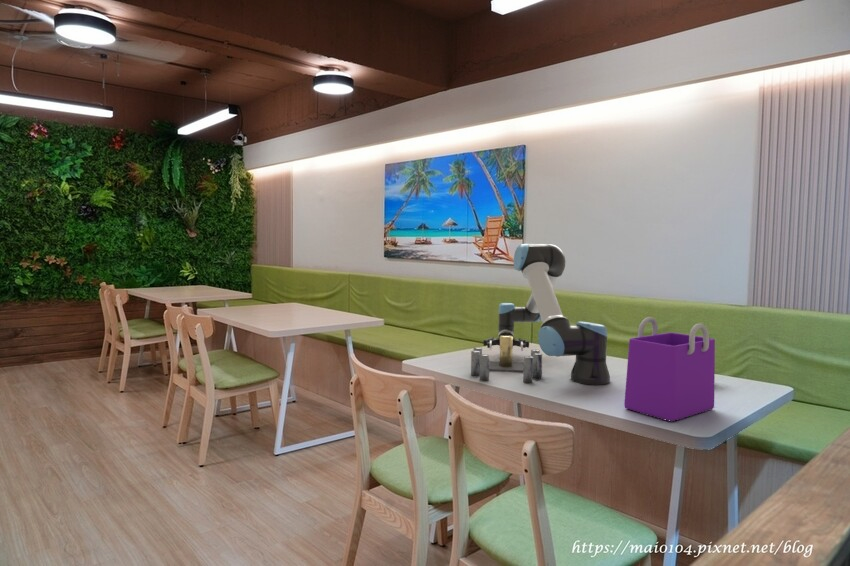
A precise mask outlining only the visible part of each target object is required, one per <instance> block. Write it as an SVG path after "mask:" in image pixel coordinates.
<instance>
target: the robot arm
mask: <svg viewBox="0 0 850 566" xmlns="http://www.w3.org/2000/svg"><path fill="white" fill-rule="evenodd" d="M513 266H514V267H513V268H514V270H515V271H518V272H520V271H521V273H522V277H523V278H525V279H527V280H528V284H529V286H530V290H531V294H530V296H529V298H528V300H527V302H526V305H525V306H515V304H514V303H511V302H501V303H499V305H498V329H497V337H496V338H495V337H494V336H491V337H489V338H486V339H483V343H482V344H483V347H486V346H487V348H488V349H489V350H492V348H493V347H494V346H498V347H500V336H502V335H509V336H513V347H520V351H521V352H523V351H524V349H525V348H530V341H529V340H528V341H527V340H525V339H522V338H521V337H518V338H517V339H516V338H515V336H514V335H515V323H536V322H542V323H541V325H540V329H538V334H537V337H538V339H537V341H538V345H539V347H540V349H541V351H542V352H543V353H544V354H545V355H546V356H549V357H569V356H575V361H574V363H573V365H572V366H573V367H572V369H571V371H570V380H571V381H573V382H576V383H579V384H583V385H593V386H598V385H599V386H600V385H607V384H610V382H611V376H610V371H609V367H608V364H607V345H608V328H607V327H606V325H604V324H599V323H594V322H587V321H577V322H576V325H571V322H570V320H569V319H568V318H567V317H566V316H564V315H563V313H562V309H561V307H560V303H559V300H558V299H557V296H556V293H555V290H554V285H555V284H556V281H558V278H559V277H561V276H562V275H563V273H564V271H565V268H566V257H565V254H564V252H563V250H562V249H561V248H560V247H559V246H557V245H555V244H551V243H521V244H519V245H517V246H516V249H515V250H514V256H513Z"/></svg>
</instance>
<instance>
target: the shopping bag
mask: <svg viewBox="0 0 850 566" xmlns="http://www.w3.org/2000/svg"><path fill="white" fill-rule="evenodd" d="M648 323H651V327H652V329H651V331H652V332H651V335H650V334H649V335H645V336H644V330H645V327H646V325H647V324H648ZM658 328H659V327H658V321H657V320H656V319H655V317H652V316H648V317H645V318H644V319H642V321H641V322H640V324H639V326H638V330H637V337H631V338H629V342H628V354H627V366H626V379H625V391H624V392H625V393H624V403H623V405H624V408H625V409H626V408H627V409H626V410H628V409H630V410H629V411H631V410H633V411H632V412H635V411H637V412H636V413H638V412H641V413H640V414H642V413H644V414H643V415H645V414H648V415H651V416H650V417H652V416H655V417H658V418H657V419H659V418H662V419H666V420H670V421H674V422H676V421H675V420H677V421H679V420H678V419H680V420H683V419H686V418H685V417H687V418H689V417H688V416H690V417H692V416H691V415H693V416H695V415H694V414H696V415H698V414H697V413H699V414H701V412H702V413H705V412H708V411H711V410H713V409H714V408H715V375H716V374H715V371H716V370H715V369H716V366H715V364H716V363H715V362H716V361H715V359H716V358H715V357H716V354H715V353H716V352H715V350H716V346H715V345H716V340H715V338H710V335H709V330H708V328H707V326H706V325H705V324H704V323H696V324H694V325H693V326H692V328H691V329H690V332H689V334H684V333H679V332H664V333H658V331H659V330H658ZM699 329H700V330H701V333H702V336H698V335H697V333H698V330H699ZM710 409H711V410H710ZM707 410H708V411H707ZM704 411H705V412H704ZM648 415H647V416H648ZM655 417H654V418H655ZM682 418H683V419H682ZM662 419H661V420H662ZM666 420H665V421H666Z"/></svg>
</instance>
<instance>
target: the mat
mask: <svg viewBox="0 0 850 566" xmlns="http://www.w3.org/2000/svg"><path fill="white" fill-rule="evenodd" d="M523 366H524V361H523V362H522V361H521V362H520V361H512V367H501V366H500V360H499V361H498V360H497V361H496V360H489V372H505V371H513V372H512V373H523Z"/></svg>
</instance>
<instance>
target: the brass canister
mask: <svg viewBox="0 0 850 566" xmlns="http://www.w3.org/2000/svg"><path fill="white" fill-rule="evenodd" d="M513 347H514V346H513V336H509V335H502V336H500V346H499V361H500V366H501V367H512V362H513V356H514V355H513V354H514V353H513V351H514V348H513Z"/></svg>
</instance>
